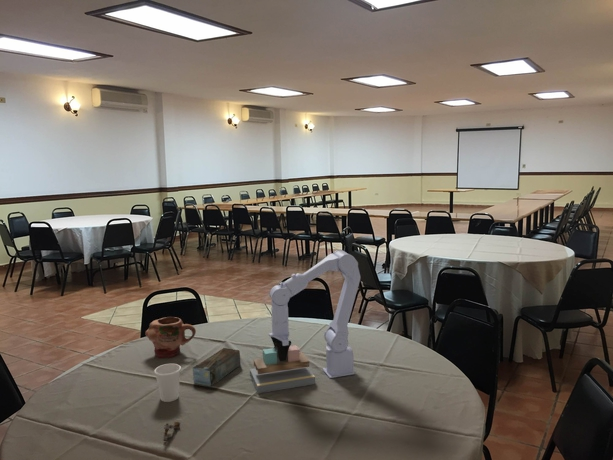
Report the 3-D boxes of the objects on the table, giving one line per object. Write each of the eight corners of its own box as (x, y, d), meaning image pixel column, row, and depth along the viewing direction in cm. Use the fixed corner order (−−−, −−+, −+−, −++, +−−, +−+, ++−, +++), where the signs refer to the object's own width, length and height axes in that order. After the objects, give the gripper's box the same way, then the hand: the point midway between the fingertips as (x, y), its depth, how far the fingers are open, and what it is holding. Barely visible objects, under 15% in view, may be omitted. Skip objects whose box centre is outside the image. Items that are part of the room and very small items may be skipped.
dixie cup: (187, 393, 163) (185, 364, 161) (173, 405, 155) (171, 375, 154) (166, 390, 166) (164, 362, 164) (151, 401, 158) (148, 372, 156)
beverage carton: (192, 383, 171) (191, 365, 170) (224, 362, 188) (223, 345, 187) (210, 387, 167) (209, 369, 166) (241, 365, 184) (241, 349, 183)
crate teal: (274, 358, 172) (273, 348, 171) (276, 363, 168) (276, 352, 167) (263, 360, 170) (262, 349, 170) (265, 365, 167) (265, 353, 166)
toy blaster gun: (159, 441, 134) (162, 423, 135) (172, 437, 142) (174, 420, 143) (166, 441, 134) (168, 424, 135) (178, 437, 141) (180, 421, 143)
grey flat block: (303, 367, 181) (303, 360, 180) (315, 383, 168) (315, 376, 167) (250, 375, 175) (249, 368, 175) (257, 393, 162) (257, 386, 161)
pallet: (302, 357, 177) (302, 340, 176) (309, 366, 169) (309, 348, 168) (253, 364, 172) (253, 347, 171) (258, 374, 164) (257, 356, 163)
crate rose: (296, 355, 174) (296, 345, 173) (299, 360, 170) (299, 349, 169) (285, 357, 173) (285, 346, 172) (288, 361, 169) (288, 350, 168)
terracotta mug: (199, 346, 204) (197, 313, 202) (195, 357, 192) (193, 323, 190) (150, 348, 202) (147, 316, 200) (143, 360, 190) (140, 326, 188)
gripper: (264, 315, 174) (265, 351, 176) (273, 328, 160) (274, 368, 162) (283, 313, 176) (284, 349, 178) (294, 326, 162) (295, 365, 164)
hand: (281, 358), depth 170 cm, fingers closed on pallet, 4 cm apart
